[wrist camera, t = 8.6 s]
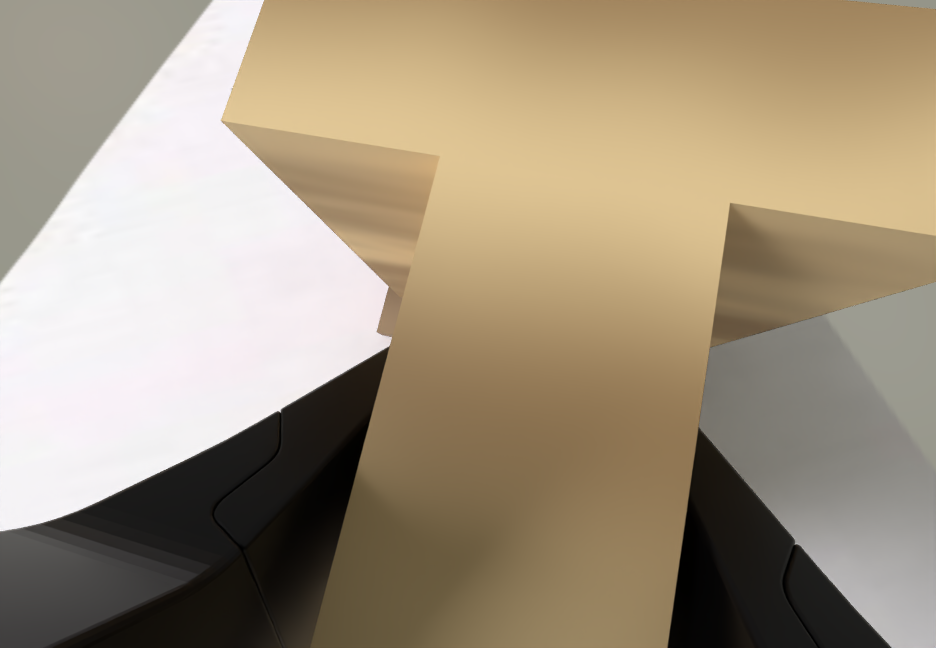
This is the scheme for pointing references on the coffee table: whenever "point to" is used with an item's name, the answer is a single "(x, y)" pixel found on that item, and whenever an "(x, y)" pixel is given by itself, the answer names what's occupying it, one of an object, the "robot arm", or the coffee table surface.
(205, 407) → the coffee table surface
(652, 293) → the oak T block
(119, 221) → the coffee table surface
